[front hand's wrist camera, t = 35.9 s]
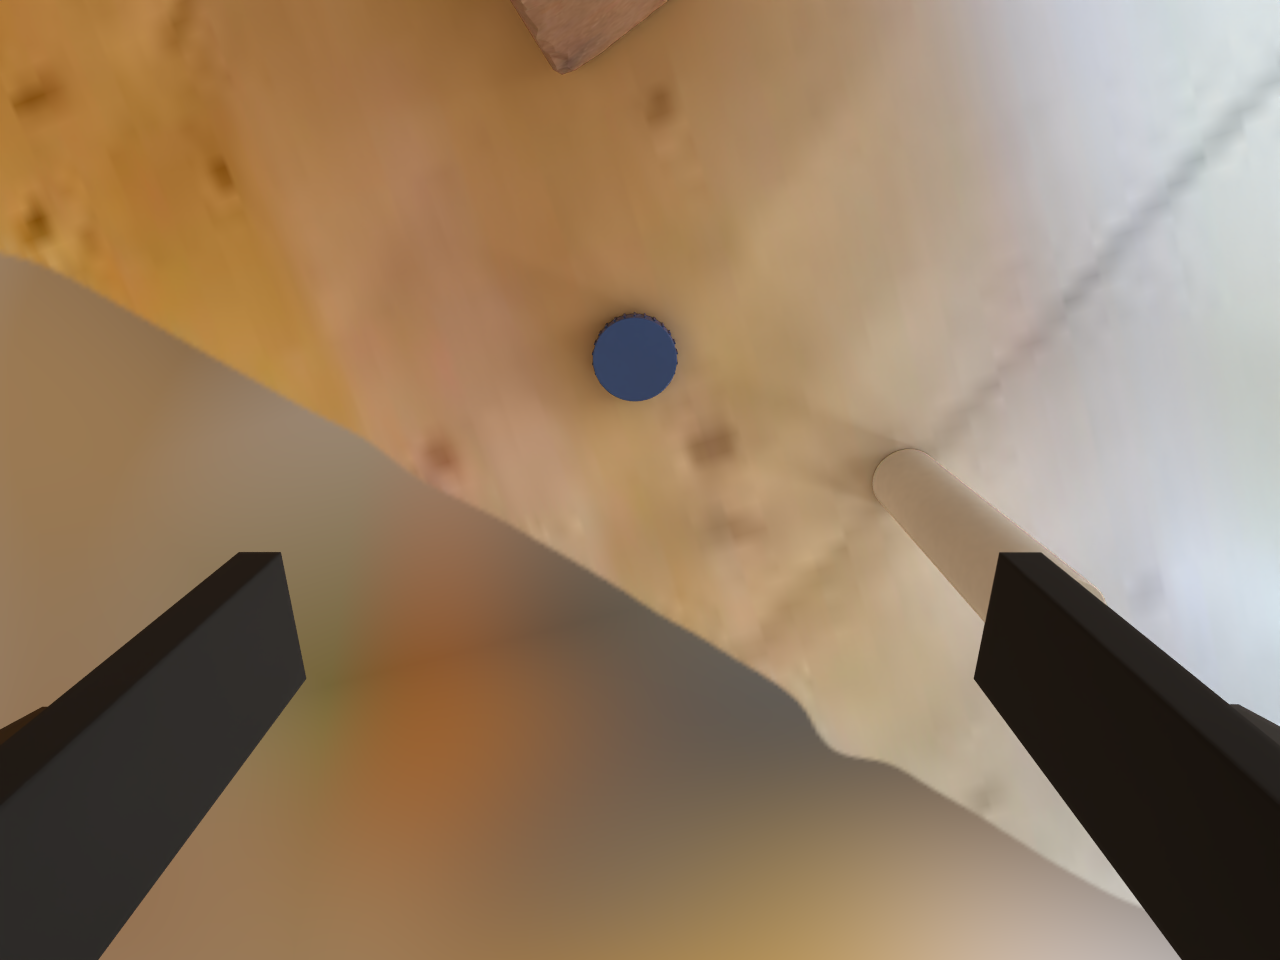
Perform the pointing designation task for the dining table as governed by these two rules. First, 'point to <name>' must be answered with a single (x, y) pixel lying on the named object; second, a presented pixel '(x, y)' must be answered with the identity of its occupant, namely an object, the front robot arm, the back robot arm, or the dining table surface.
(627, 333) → the lid
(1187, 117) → the dining table surface
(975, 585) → the white cylinder
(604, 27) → the stone
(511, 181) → the dining table surface
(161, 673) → the front robot arm
